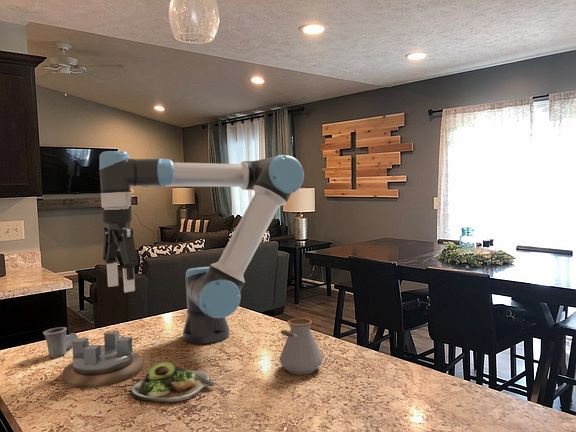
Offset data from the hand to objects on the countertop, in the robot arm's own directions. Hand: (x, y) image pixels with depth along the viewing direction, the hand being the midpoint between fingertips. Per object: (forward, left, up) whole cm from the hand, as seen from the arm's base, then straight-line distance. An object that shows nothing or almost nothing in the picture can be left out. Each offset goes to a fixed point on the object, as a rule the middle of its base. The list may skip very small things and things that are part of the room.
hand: (121, 288), depth 127 cm
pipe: (+24, -11, -22) cm, 35 cm away
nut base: (+4, +4, -22) cm, 23 cm away
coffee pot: (-48, +9, -22) cm, 53 cm away
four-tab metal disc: (+4, +4, -20) cm, 20 cm away
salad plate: (-17, +14, -22) cm, 31 cm away
